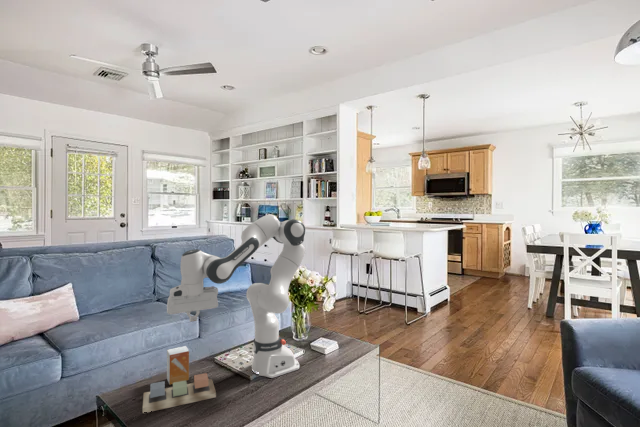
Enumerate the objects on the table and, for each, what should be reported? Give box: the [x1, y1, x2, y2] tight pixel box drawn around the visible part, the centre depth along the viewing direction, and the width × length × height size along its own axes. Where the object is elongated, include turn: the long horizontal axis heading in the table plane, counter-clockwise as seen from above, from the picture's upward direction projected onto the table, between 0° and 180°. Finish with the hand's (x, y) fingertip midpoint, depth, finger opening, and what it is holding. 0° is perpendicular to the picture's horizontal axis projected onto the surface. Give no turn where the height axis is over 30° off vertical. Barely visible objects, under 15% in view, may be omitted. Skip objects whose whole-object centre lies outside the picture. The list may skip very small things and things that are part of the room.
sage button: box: [172, 380, 188, 397], centre depth 137 cm, size 5×5×3 cm
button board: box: [142, 378, 217, 414], centre depth 137 cm, size 26×11×2 cm, turn 115°
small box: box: [166, 345, 190, 385], centre depth 150 cm, size 8×6×13 cm
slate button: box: [149, 380, 166, 398], centre depth 134 cm, size 5×5×3 cm
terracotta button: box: [193, 372, 209, 389], centre depth 140 cm, size 5×5×3 cm
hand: (193, 320), depth 146 cm, fingers closed
